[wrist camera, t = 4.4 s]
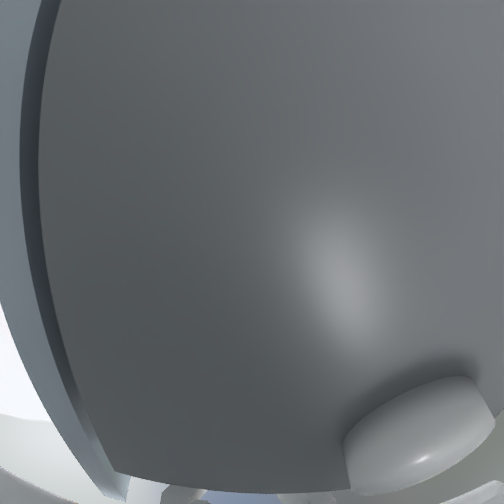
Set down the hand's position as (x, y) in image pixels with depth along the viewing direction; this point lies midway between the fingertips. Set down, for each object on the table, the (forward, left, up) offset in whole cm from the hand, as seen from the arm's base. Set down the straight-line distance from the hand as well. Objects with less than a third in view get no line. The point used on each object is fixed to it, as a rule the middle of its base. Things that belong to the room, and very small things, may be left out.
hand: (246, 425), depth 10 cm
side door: (-8, -5, -4) cm, 10 cm away
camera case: (-10, +1, -4) cm, 11 cm away
